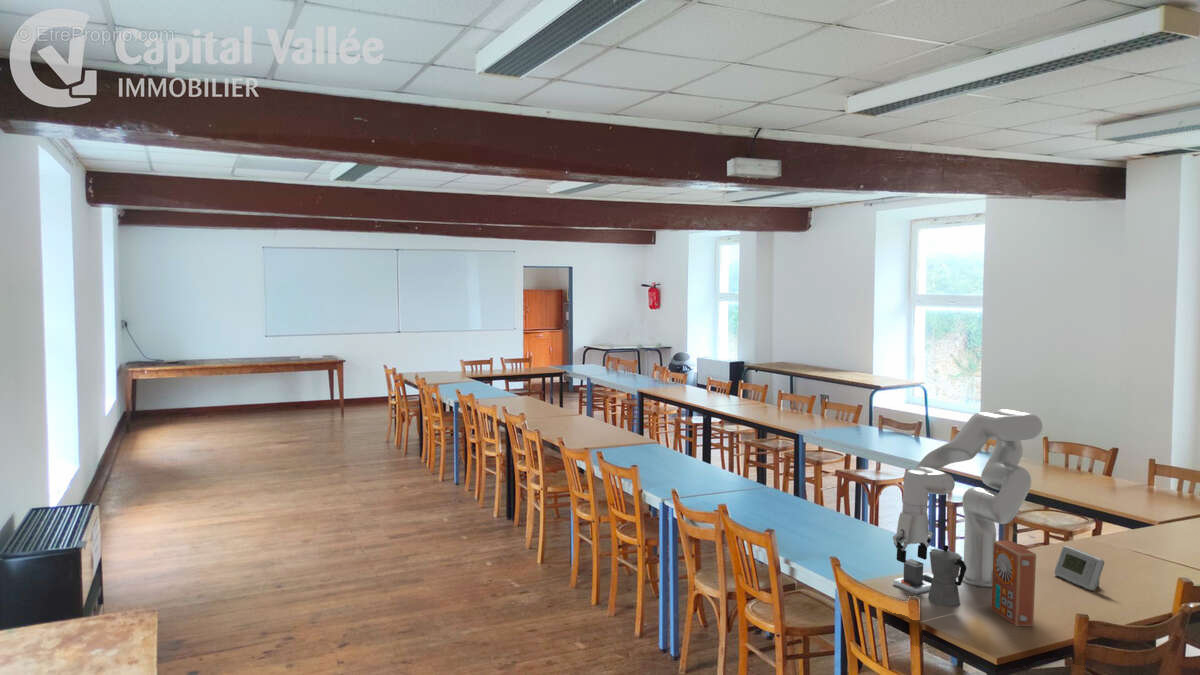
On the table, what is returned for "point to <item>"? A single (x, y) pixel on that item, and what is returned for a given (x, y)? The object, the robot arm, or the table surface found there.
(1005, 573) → the control panel
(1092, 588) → the digital clock
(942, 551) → the coffeepot
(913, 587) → the power strip
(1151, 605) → the table surface
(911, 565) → the plug
